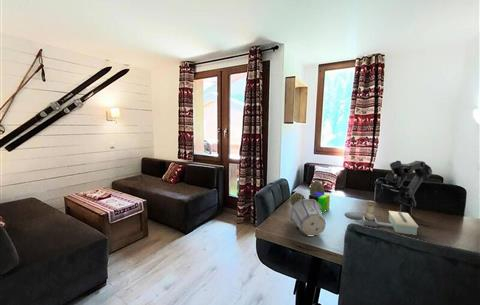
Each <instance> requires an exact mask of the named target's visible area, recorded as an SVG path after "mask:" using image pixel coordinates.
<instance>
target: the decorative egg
mask: <svg viewBox="0 0 480 305" xmlns="http://www.w3.org/2000/svg"><path fill="white" fill-rule="evenodd" d="M315 192H317V193H322V194H325V188H324V185H323V184H322V182H321V181H319V180H314V181H313V182H312V183H311V186H310V187H309V195H311V194H313V193H315Z"/></svg>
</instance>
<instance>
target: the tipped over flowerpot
mask: <svg viewBox="0 0 480 305" xmlns="http://www.w3.org/2000/svg"><path fill="white" fill-rule="evenodd" d="M290 196H291V197H290V204H291V206H290V209H289V210H290V211H289V220H290V221H291V222H293V224H295V225H296V226H297V227H298V229H299V231H300V232H301V233H302V234H303V235H304V236H306V235H317V236H319V235H321V234H322V233H323V232H324V231H325V229H326V225H327V224H326V220H325V217H324V216H323V213H321V211H322V206H321V205H320V204H319V203H318V202H317V201H315V200H314V199H309V198H308V199H306V198H305V196H304V195H303V194H302V193H299V192H294V193H292V194H291V195H290Z"/></svg>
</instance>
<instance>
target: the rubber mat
mask: <svg viewBox="0 0 480 305" xmlns="http://www.w3.org/2000/svg"><path fill="white" fill-rule="evenodd" d="M344 216H345V217H346V218H349V219H352V220H362V219H363V215H362V214H360V213H357V212H351V211H349V212H345V213H344Z"/></svg>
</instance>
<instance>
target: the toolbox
mask: <svg viewBox="0 0 480 305" xmlns="http://www.w3.org/2000/svg"><path fill="white" fill-rule="evenodd" d="M361 220H362V224H363V225H364V226H370V227H378V226H379V227H386V228H393V229H394V231H395V233H399V234H405V235H411V234H412V236H417V235H418V234H417V232H418V228H419V225H418V224H417V223H416V221H415V220H414V219H413V218H412V216H410V215H409V214H408V213H403V212H398V211H395V210H394V211H393V210H388V220H389V222H390V223H388V222H381V221H378V220H377V218H376V217H374V221H367V220H366V215H365V216H364V215H362V219H361Z"/></svg>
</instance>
